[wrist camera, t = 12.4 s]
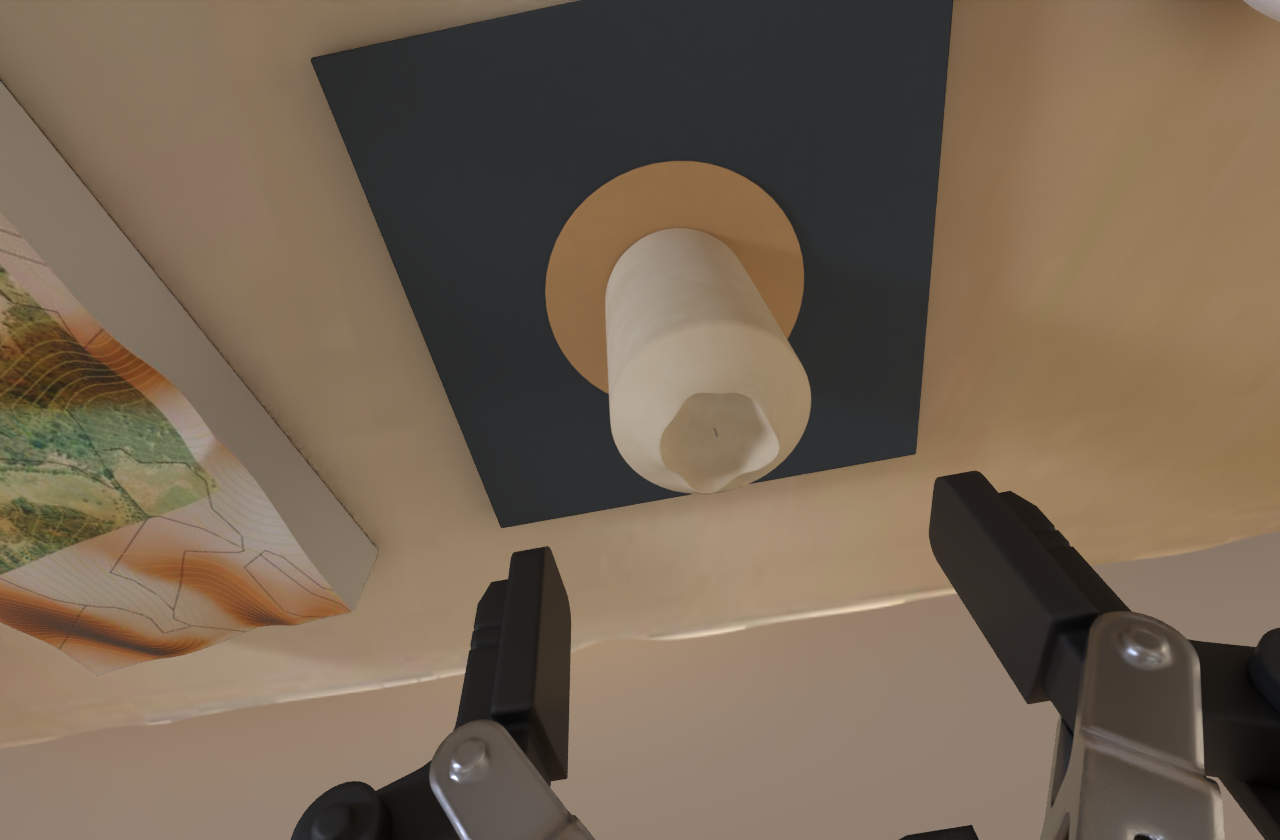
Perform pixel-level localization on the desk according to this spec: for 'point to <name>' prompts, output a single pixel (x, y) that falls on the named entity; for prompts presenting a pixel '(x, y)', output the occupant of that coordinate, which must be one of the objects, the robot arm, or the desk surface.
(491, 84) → the mat
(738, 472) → the candle
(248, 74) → the desk surface
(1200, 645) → the robot arm
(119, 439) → the topographic model
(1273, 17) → the plain white apple
